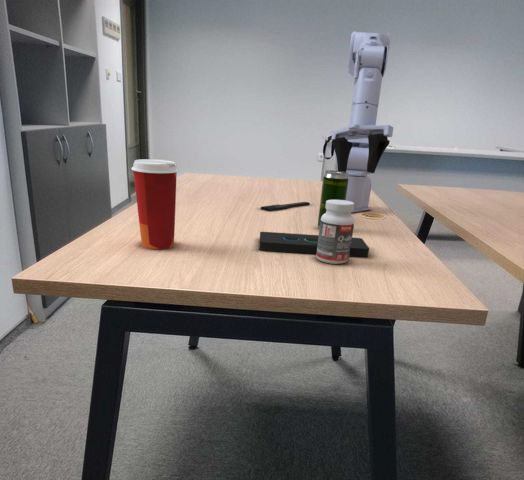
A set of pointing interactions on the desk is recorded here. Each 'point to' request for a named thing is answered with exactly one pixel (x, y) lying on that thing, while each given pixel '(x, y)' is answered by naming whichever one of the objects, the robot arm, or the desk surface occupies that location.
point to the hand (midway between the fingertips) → (355, 173)
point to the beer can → (332, 189)
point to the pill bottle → (335, 232)
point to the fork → (284, 206)
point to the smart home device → (304, 243)
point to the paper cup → (156, 201)
